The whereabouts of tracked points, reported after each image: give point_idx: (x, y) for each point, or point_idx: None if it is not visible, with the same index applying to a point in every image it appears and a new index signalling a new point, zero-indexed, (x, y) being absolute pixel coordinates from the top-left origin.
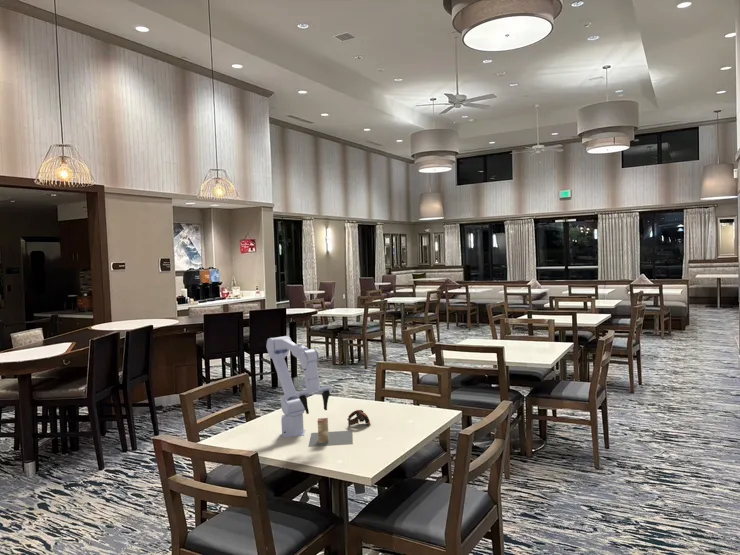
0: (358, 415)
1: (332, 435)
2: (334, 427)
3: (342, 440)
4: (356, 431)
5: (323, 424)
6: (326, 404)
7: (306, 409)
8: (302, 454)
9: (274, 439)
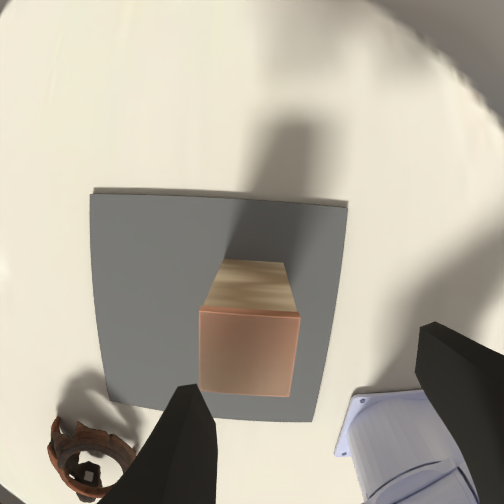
0: (65, 452)
1: None
2: None
3: (142, 270)
4: (94, 390)
5: (242, 302)
6: (158, 436)
7: (474, 341)
8: (375, 109)
9: None
